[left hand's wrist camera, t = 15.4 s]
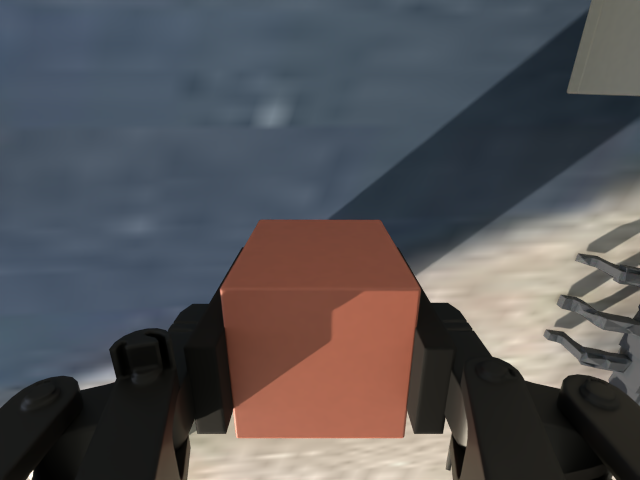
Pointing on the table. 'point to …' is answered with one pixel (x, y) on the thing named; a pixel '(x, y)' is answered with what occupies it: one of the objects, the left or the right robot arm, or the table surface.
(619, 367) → the toy
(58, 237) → the table surface
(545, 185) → the table surface
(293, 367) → the coral block
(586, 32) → the box
